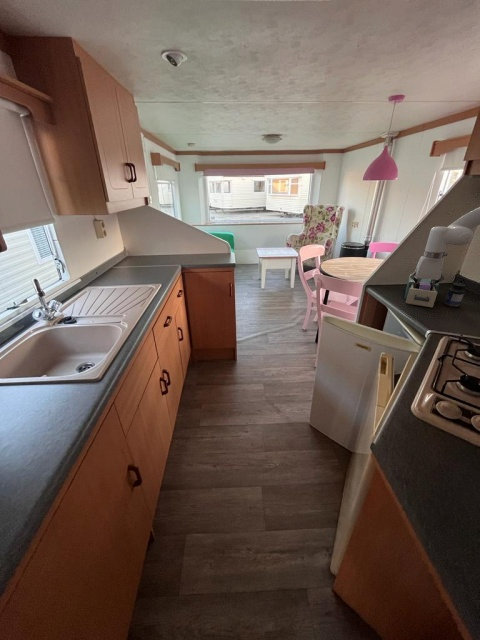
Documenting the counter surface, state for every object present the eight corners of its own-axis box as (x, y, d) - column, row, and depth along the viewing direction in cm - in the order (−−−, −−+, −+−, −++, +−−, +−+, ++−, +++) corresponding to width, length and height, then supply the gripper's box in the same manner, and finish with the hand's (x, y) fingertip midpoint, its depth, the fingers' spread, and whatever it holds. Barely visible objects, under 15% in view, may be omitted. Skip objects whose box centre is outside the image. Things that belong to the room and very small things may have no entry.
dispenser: (432, 303, 135) (438, 285, 130) (404, 298, 140) (409, 281, 136) (432, 293, 146) (437, 276, 141) (405, 289, 152) (410, 273, 147)
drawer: (432, 311, 124) (438, 296, 121) (405, 306, 130) (409, 291, 126) (431, 297, 138) (436, 283, 135) (406, 294, 144) (410, 280, 140)
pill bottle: (443, 302, 135) (450, 281, 130) (458, 304, 133) (466, 283, 127) (444, 306, 131) (452, 285, 126) (459, 308, 128) (468, 287, 123)
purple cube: (426, 290, 132) (429, 282, 130) (428, 294, 129) (431, 285, 127) (416, 290, 134) (418, 281, 132) (418, 293, 130) (420, 284, 128)
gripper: (452, 253, 123) (440, 290, 132) (411, 252, 129) (402, 287, 137) (457, 257, 117) (444, 296, 125) (414, 255, 123) (404, 292, 131)
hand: (422, 291), depth 131 cm, fingers closed on purple cube, 4 cm apart
